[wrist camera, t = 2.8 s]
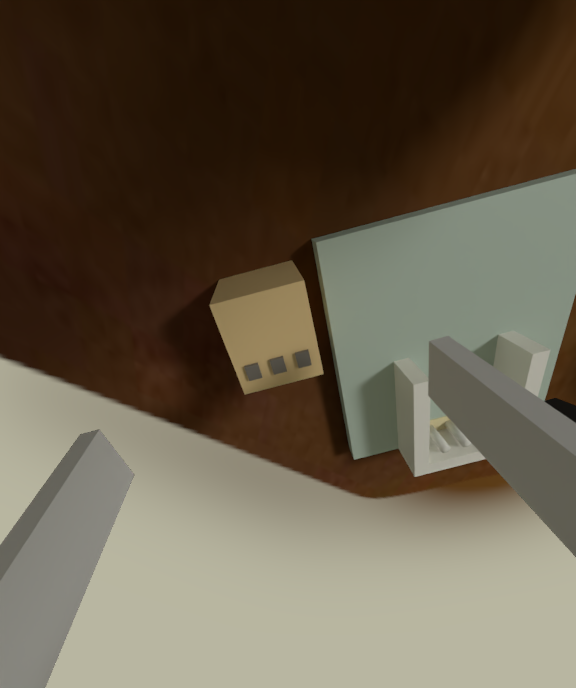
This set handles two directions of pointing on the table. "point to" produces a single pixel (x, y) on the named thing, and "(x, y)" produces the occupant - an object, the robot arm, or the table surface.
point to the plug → (267, 326)
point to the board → (446, 309)
